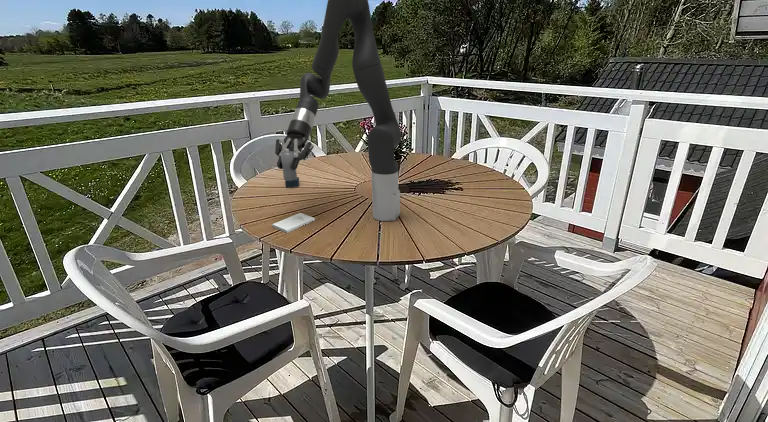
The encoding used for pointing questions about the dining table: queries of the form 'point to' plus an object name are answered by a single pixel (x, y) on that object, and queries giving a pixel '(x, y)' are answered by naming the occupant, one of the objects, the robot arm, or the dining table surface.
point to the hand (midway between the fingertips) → (286, 168)
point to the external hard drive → (293, 222)
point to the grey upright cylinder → (288, 165)
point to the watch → (292, 183)
